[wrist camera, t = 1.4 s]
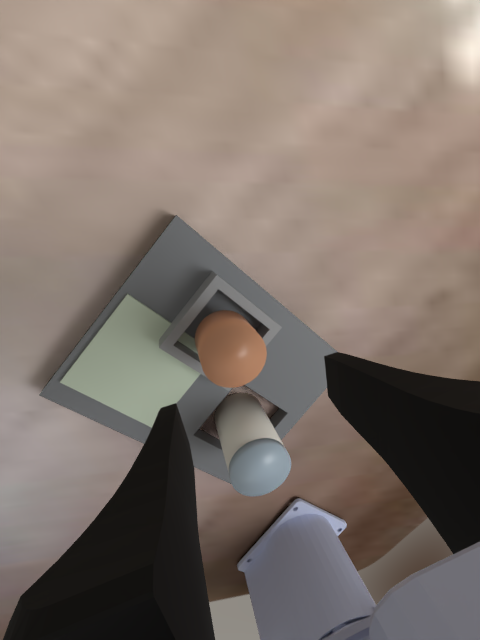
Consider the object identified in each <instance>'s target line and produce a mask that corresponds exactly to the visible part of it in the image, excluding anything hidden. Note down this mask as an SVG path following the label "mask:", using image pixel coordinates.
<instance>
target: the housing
mask: <svg viewBox="0 0 480 640" xmlns="http://www.w3.org/2000/svg"><path fill="white" fill-rule="evenodd" d="M220 310H230V311H234V312H237V313H239V314H240V315H242V316H243V317H244V318H245V319H246V320H247V321H248V323H249V324H250V325H251V326H252V327H253V328H254V329H255V330H256V332H257V333H258V334H259V335H260V336H261V337H262V339H263V340H264V343H265V345H266V350H267V357H266V362H265V365H264V367H263V369H262V371H261V372H260V373H259V375H258V376H257V377H256V378H255V379H253V380H252V381H251V382H249V383H247V384H245V386H247V387H248V388H250V389H252V390H253V391H255V392H256V393H258V394H259V395H261V396H262V397H264V398H265V399H267V400H268V401H270V402H272V403H273V404H275V405H276V406H278V407H279V409H278V410H277V411H276V413H275V414H274V415H273V416H272V417H271V418H270V422H271V423H272V425H273V427H274V429H275V431H276V432H277V434H278V436H279V438H280V439H281V440H282V439H283V437H284V436H285V435H286V434H287V433H288V432H289V431H290V429H291V428H292V427H293V426H294V425H295V424H296V422H297V421H298V420H299V419H300V418H301V417H302V416H303V414H304V413H305V412H306V411H307V410H308V409H309V408H310V406H311V405H312V404H313V403H314V402H315V401H316V399H317V398H318V397H319V396H320V395H321V394H322V393H323V391H324V390H325V389H326V388H327V380H326V370H325V360H324V356H326V355H330V354H333V353H336V352H337V351H336V350H335V349H333V348H332V347H331V346H330V345H329V344H328V343H326V342H325V341H324V340H323V339H322V338H320V337H319V336H318V335H317V334H316V333H315V332H313V331H312V330H311V329H310V328H309V327H308V326H306V325H305V324H304V323H303V322H302V321H300V320H299V319H298V318H297V317H296V316H295V315H293V314H292V313H291V312H290V311H289V310H288V309H286V308H285V307H284V306H283V305H282V304H280V303H279V302H278V301H277V300H276V299H275V298H273V297H272V296H271V295H270V294H269V293H268V292H266V291H265V290H264V289H263V288H262V287H260V286H259V285H258V284H257V283H256V282H255V281H253V280H252V279H251V278H250V277H249V276H247V275H246V274H245V273H244V272H243V271H242V270H240V269H239V268H238V267H237V266H236V265H235V264H233V263H232V262H231V261H230V260H229V259H227V258H226V257H225V256H224V255H223V254H222V253H220V252H219V251H218V250H217V249H216V248H215V247H213V246H212V245H211V244H210V243H209V242H207V241H206V240H205V239H204V238H203V237H202V236H200V235H199V234H198V233H197V232H196V231H195V230H193V229H192V228H191V227H190V226H189V225H187V224H186V223H185V222H184V221H183V220H182V219H180V218H179V217H178V216H177V215H176V216H175V217H174V218H173V220H172V221H171V222H170V223H169V225H168V226H167V227H166V229H165V230H164V231H163V233H162V234H161V235H160V237H159V238H158V239H157V240H156V242H155V243H154V244H153V246H152V247H151V248H150V250H149V251H148V252H147V254H146V255H145V256H144V258H143V259H142V260H141V261H140V263H139V264H138V265H137V267H136V268H135V269H134V271H133V272H132V273H131V275H130V276H129V277H128V278H127V280H126V281H125V282H124V284H123V285H122V286H121V288H120V289H119V290H118V292H117V293H116V294H115V295H114V297H113V298H112V299H111V301H110V302H109V303H108V305H107V306H106V307H105V309H104V310H103V311H102V313H101V314H100V315H99V316H98V318H97V319H96V320H95V322H94V323H93V324H92V326H91V327H90V328H89V330H88V331H87V332H86V333H85V335H84V336H83V337H82V339H81V340H80V341H79V343H78V344H77V345H76V347H75V348H74V349H73V351H72V352H71V353H70V354H69V356H68V357H67V358H66V360H65V361H64V362H63V364H62V365H61V366H60V368H59V369H58V370H57V371H56V373H55V374H54V375H53V377H52V378H51V379H50V381H49V382H48V383H47V385H46V386H45V387H44V389H43V390H42V392H41V393H40V396H42V397H44V398H47V399H49V400H51V401H53V402H55V403H57V404H59V405H62V406H64V407H66V408H68V409H70V410H72V411H75V412H77V413H79V414H81V415H83V416H85V417H88V418H90V419H92V420H94V421H96V422H98V423H101V424H103V425H105V426H107V427H109V428H111V429H113V430H116V431H118V432H120V433H122V434H124V435H126V436H129V437H131V438H133V439H135V440H137V441H139V442H142V443H145V441H146V439H147V437H148V435H149V433H150V431H151V429H152V426H153V424H154V422H155V419H156V417H157V414H158V412H159V410H160V408H162V407H165V406H168V405H172V404H175V403H176V404H177V407H178V410H179V413H180V416H181V419H182V422H183V425H184V428H185V431H186V434H187V437H188V440H189V443H190V448H191V454H192V459H193V465H194V467H196V468H198V469H200V470H202V471H204V472H206V473H209V474H211V475H213V476H215V477H217V478H219V479H222V480H224V481H226V482H228V483H230V484H232V483H231V479H230V476H229V472H228V468H227V465H226V461H225V457H224V454H223V450H222V447H221V443H220V440H219V439H217V438H215V437H213V436H211V435H209V434H207V433H205V432H204V431H202V430H200V429H199V428H200V427H201V425H202V424H203V423H204V422H205V421H206V419H207V418H208V417H209V416H210V415H211V413H212V412H213V411H214V410H215V409H216V407H217V406H218V405H219V404H220V403H221V401H222V400H223V399H224V398H225V397H226V395H227V394H228V393H229V392H230V391H231V390H232V388H226V387H221V386H218V385H216V384H214V383H213V382H211V381H210V380H209V379H208V378H207V377H206V375H205V374H204V372H203V369H202V366H201V363H200V359H199V356H198V352H197V349H196V345H195V333H196V330H197V327H198V326H199V324H200V323H201V321H202V320H203V319H204V318H205V317H206V316H208V315H209V314H211V313H213V312H216V311H220Z"/></svg>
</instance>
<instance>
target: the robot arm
mask: <svg viewBox="0 0 480 640" xmlns="http://www.w3.org/2000/svg"><path fill="white" fill-rule="evenodd" d="M324 360H325V370H326V380H327V389H328V396H329V398H330V399H331V401H332V402H333V404H334V405H335V407H336V408H337V409H338V411H339V412H340V413H341V415H342V416H343V417H344V418H345V419H346V420H347V421H348V422H349V423H350V424H351V425H352V426H353V427H354V429H355V430H356V431H357V432H358V433H359V434H360V435H361V436H362V437H363V438H364V439H365V440H366V441H367V442H368V443H369V444H370V445H371V446H372V447H373V448H374V449H375V451H376V452H377V453H378V454H379V455H380V456H381V457H382V458H383V459H384V460H385V462H386V463H387V464H388V465H389V466H390V468H391V469H392V470H393V471H394V473H395V474H396V475H397V476H398V478H399V479H400V480H401V482H402V483H403V484H404V485H405V487H406V488H407V489H408V491H409V492H410V493H411V495H412V496H413V497H414V499H415V500H416V501H417V503H418V504H419V506H420V507H421V508H422V510H423V511H424V512H425V514H426V515H427V517H428V518H429V519H430V521H431V522H432V524H433V525H434V526H435V528H436V529H437V531H438V532H439V534H440V535H441V536H442V538H443V539H444V541H445V542H446V544H447V545H448V547H449V548H450V549H451V551H452V552H453V555H451V556H449V557H447V558H445V559H443V560H441V561H439V562H436V563H434V564H432V565H430V566H428V567H426V568H424V569H422V570H420V571H418V572H416V573H414V574H412V575H410V576H409V577H407V578H406V579H404V580H403V581H401V582H400V583H398V584H397V585H395V586H394V587H392V588H391V589H390V590H389V591H388V592H387V593H386V595H385V596H384V597H383V598H382V599H381V600H380V602H379V603H378V604H377V605H376V604H375V602H374V600H373V599H372V597H371V595H370V593H369V591H368V590H367V588H366V586H365V584H364V583H363V581H362V579H361V577H360V576H359V574H358V572H357V570H356V568H355V567H354V565H353V563H352V561H351V560H350V558H349V556H348V554H347V553H346V551H345V549H344V547H343V545H342V544H341V542H340V540H339V538H338V537H337V536H338V535H339V534H340V533H341V532H342V531H343V530H344V529H345V528H346V526H347V524H346V522H345V521H344V520H343V519H341V518H339V517H337V516H335V515H332V514H330V513H328V512H326V511H324V510H322V509H320V508H318V507H316V506H314V505H312V504H310V503H308V502H306V501H304V500H302V499H300V498H297V499H295V500H294V501H293V502H292V503H291V504H290V505H289V507H288V508H287V509H286V510H285V511H284V512H283V513H282V514H281V516H280V517H279V518H278V519H277V520H276V521H275V522H274V523H273V524H272V526H271V527H270V528H269V529H268V530H267V531H266V532H265V533H264V535H263V536H262V537H261V538H260V539H259V540H258V541H257V542H256V543H255V545H254V546H253V547H252V548H251V549H250V550H249V551H248V552H247V554H246V555H245V556H244V557H243V558H242V559H241V560H240V561H239V563H238V564H237V567H238V570H239V571H242V572H244V573H245V577H246V582H247V586H248V590H249V594H250V598H251V602H252V606H253V610H254V615H255V619H256V623H257V627H258V631H259V635H260V639H261V640H480V382H479V381H468V380H458V379H450V378H443V377H437V376H431V375H425V374H419V373H414V372H410V371H406V370H401V369H397V368H393V367H389V366H386V365H382V364H379V363H375V362H372V361H368V360H365V359H361V358H358V357H354V356H351V355H347V354H343V353H339V352H336V353H333V354H330V355H326V356H324ZM3 640H215V637H214V630H213V625H212V619H211V612H210V607H209V600H208V594H207V588H206V582H205V576H204V569H203V563H202V556H201V550H200V543H199V535H198V524H197V508H196V492H195V476H194V465H193V459H192V454H191V448H190V443H189V440H188V437H187V434H186V431H185V428H184V425H183V422H182V419H181V416H180V413H179V410H178V407H177V404H176V403H175V404H172V405H168V406H165V407H162V408H160V410H159V412H158V414H157V417H156V419H155V422H154V424H153V426H152V429H151V431H150V433H149V435H148V437H147V439H146V441H145V443H144V446H143V448H142V450H141V451H140V453H139V455H138V457H137V459H136V460H135V462H134V464H133V466H132V468H131V469H130V471H129V473H128V474H127V476H126V477H125V479H124V481H123V482H122V484H121V485H120V487H119V488H118V490H117V491H116V492H115V494H114V495H113V497H112V498H111V499H110V500H109V502H108V503H107V504H106V506H105V507H104V508H103V509H102V511H101V512H100V513H99V515H98V516H97V517H96V518H95V520H94V521H93V522H92V523H91V524H90V526H89V527H88V528H87V529H86V530H85V531H84V532H83V534H82V535H81V536H80V537H79V538H78V539H77V540H76V541H75V542H74V544H73V545H72V546H71V547H70V548H69V549H68V550H67V551H66V552H65V553H64V554H63V555H62V556H61V557H60V558H59V560H58V561H57V562H56V563H55V564H53V565H52V566H51V567H50V568H49V569H48V570H47V571H46V572H45V573H44V574H43V575H42V576H41V577H40V578H39V579H38V580H37V581H36V582H35V583H34V584H33V585H32V586H31V587H30V588H29V589H28V590H27V591H26V592H25V593H24V594H23V595H22V596H21V597H20V599H19V601H18V604H17V606H16V608H15V611H14V613H13V615H12V617H11V620H10V622H9V625H8V628H7V630H6V633H5V636H4V638H3Z"/></svg>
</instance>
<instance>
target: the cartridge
mask: <svg viewBox="0 0 480 640" xmlns="http://www.w3.org/2000/svg"><path fill="white" fill-rule="evenodd" d="M214 421H215V425H216V428H217V432H218V436H219V439H220V443H221V447H222V450H223V454H224V457H225V461H226V465H227V468H228V472H229V476H230V479H231V483H232V485H233V487H234V489H235V490H236V491H238V492H239V493H241V494H243V495H246V496H260V495H264V494H267V493H269V492H271V491H273V490H275V489H276V488H278V487H279V486H280V485H281V484H282V483H283V482H284V481H285V479H286V478H287V476H288V474H289V472H290V469H291V459H290V456H289V454H288V452H287V450H286V448H285V447H284V445H283V443H282V441H281V439H280V438H279V436H278V434H277V432H276V431H275V429H274V427H273V425H272V423H271V422H270V420H269V418H268V416H267V414H266V413H265V411H264V409H263V407H262V405H261V404H260V402H259V400H258V399H257V398H256V397H255V396H253V395H251V394H248V393H236V394H232V395H230V396H228V397H226V398H225V399H224V400H222V401H221V403H220V404H219V405H218V407H217V408H216V411H215V414H214Z"/></svg>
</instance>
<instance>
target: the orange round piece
mask: <svg viewBox="0 0 480 640" xmlns="http://www.w3.org/2000/svg"><path fill="white" fill-rule="evenodd" d="M195 345H196V349H197V352H198V356H199V359H200V363H201V366H202V369H203V372H204V374H205V375H206V377H207V378H208V379H209V380H210V381H211V382H213V383H214V384H216V385H218V386H221V387H226V388H234V387H239V386H243V385H245V384H247V383H249V382H251V381H252V380H253V379H255V378H256V377H257V376H258V375H259V373H260V372H261V371H262V369H263V367H264V365H265V362H266V357H267V350H266V345H265V343H264V340H263V339H262V337H261V336H260V335H259V334H258V333H257V332H256V330H255V329H254V328H253V327H252V326H251V325H250V324H249V323H248V321H247V320H246V319H245V318H244V317H243V316H242V315H240V314H239V313H237V312H234V311H230V310H220V311H216V312H213V313H211V314H209V315H208V316H206V317H205V318H204V319H203V320H202V321H201V323H200V324H199V326H198V327H197V330H196V333H195Z"/></svg>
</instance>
